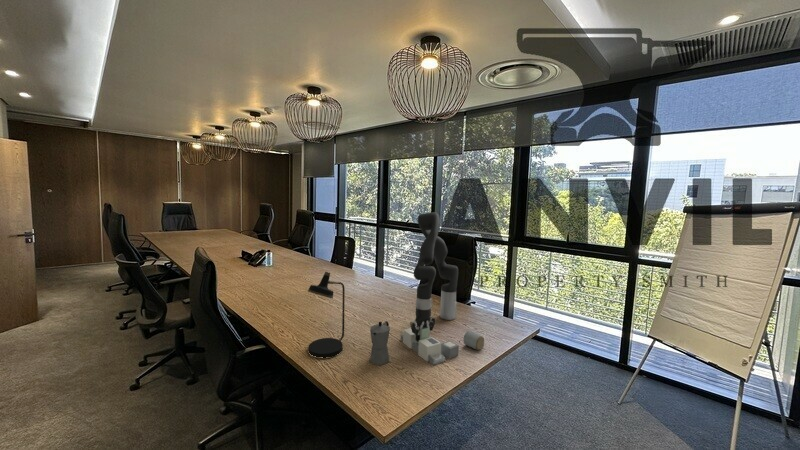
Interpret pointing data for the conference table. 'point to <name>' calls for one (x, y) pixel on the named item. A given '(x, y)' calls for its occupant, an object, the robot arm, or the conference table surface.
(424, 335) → the module
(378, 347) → the coffeepot
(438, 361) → the rail
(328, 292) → the lamp
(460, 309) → the conference table surface
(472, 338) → the ceramic mug
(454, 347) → the block
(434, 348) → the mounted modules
